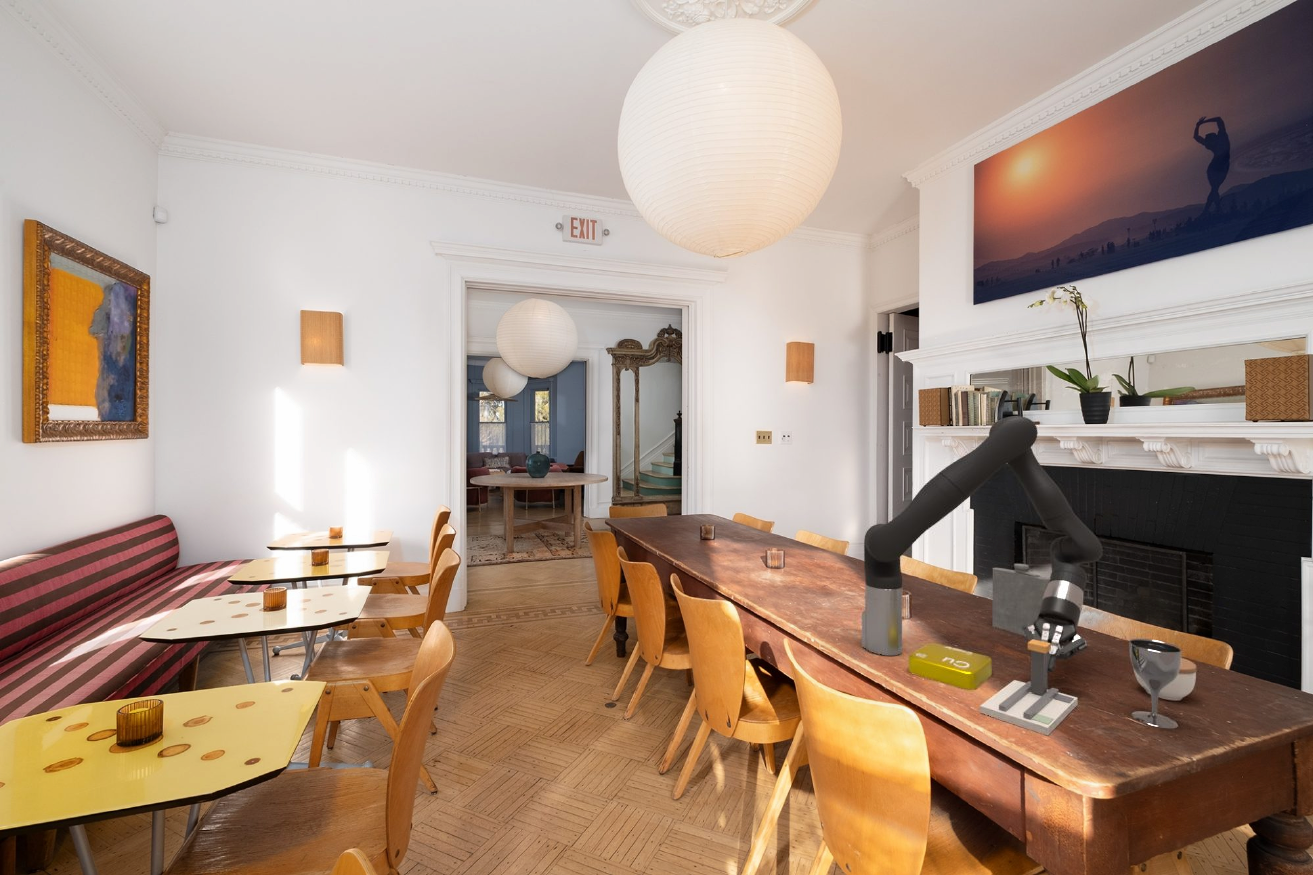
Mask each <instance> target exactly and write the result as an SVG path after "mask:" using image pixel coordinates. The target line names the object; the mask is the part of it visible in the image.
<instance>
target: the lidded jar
mask: <svg viewBox="0 0 1313 875" xmlns="http://www.w3.org/2000/svg"><path fill="white" fill-rule="evenodd" d="M1197 670H1198V669H1197V665H1196V664H1195V662H1192V661H1191V660H1189V659H1187V658H1184V657H1181V665H1180V670H1179V673H1178V675H1177V677H1176V679H1174V680H1173V681H1172V682H1170V683H1169V684H1168V685H1166V686H1165V687H1163V688H1162V689H1161V691H1160V692H1159V696H1158V699H1162V700H1166V701H1167V700H1168V701H1183V700H1182V699H1183V698H1185V697H1186V696H1188V695H1190V693H1191V692H1192V691H1193V690H1194V688H1195V685H1196V679H1197V678H1196V677H1197V674H1196V673H1197V672H1198V671H1197ZM1133 672H1134V675H1135V678H1136V681H1137V682H1138V683H1139V684H1140V686H1141V688H1143V689H1144V690H1145V692H1146V693H1147V694H1149V695H1150V696H1151V692H1150V689H1149V687H1148V686H1147V684H1146V683H1145V682H1144V681H1143V680H1142V678H1141V677H1140V676H1139V675H1138V674H1137V673H1136V671H1135V670H1134V669H1133Z"/></svg>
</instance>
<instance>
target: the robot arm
mask: <svg viewBox="0 0 1313 875" xmlns="http://www.w3.org/2000/svg"><path fill="white" fill-rule="evenodd" d="M1037 438H1038V427H1037V425H1036V423H1035V422H1034V421H1033V420H1032V419H1030V418H1028V417H1025V416H1021V415H1014V416H1013V415H1012V416H1008V417H1004V418H1001V419H999V420H996V421H995V422H994V423H993V424H992V425H991V426H990V428H989V432H988V436H987V438H986V439H984V440H983V441H982V442H981V443H980V444H979V445H977V447H976V448H974V449H973V450H972V451H970V452H969V453H967V454H965V455H963V456H962V457H959V459H957V460H955V461H953V463H950V464H949V465H948V466H946V467H944V469H942V470H941V471H939V472H938V473H936V475H934V476H933V477H932V478H931V479H930V480H929V481H927V482H926V483H925V484H924V485H923V486H922V487H921V489H919V491H918V492H917V494H915V496H914V498H912V500H911V502H910V503H909V504H908V506H907V507H906V508H905V509H904V510H903V511H902V512H900V514H897V516H896V517H894V518H893V519H891V521H888V522H887V523H877V524H874V525H872V526H870V527H869V528H868V530H866V532H865V535H864V538H863V539H864V541H863V542H864V543H863V549H864V550H863V555H864V556H863V559H864V560H863V563H864V564H863V566H864V575H865V576H864V577H865V578H864V579H865V580H864V582H865V584H864V585H865V586H864V588H865V593H864V596H865V598H864V600H865V601H864V602H865V603H864V604H865V605H864V606H865V609H864V611H862V612H861V648H863V647H864V648H863V649H865V648H866V649H865V650H867V651H868V650H869V651H868V652H870V653H872V652H874V653H873V654H876V653H877V654H876V655H880V654H882V655H881V656H891V657H892V656H898V654H899V655H901V654H902V653H903V574H902V570H901V557H902V556H903V555H904V554H905V553H906V552H907V550H908V549H909V548H910V547H911V546H912V545H914V543H915V542H916V541H917V540H918V539H919V538H920V537H921V536H922V535H923V534H925V532H926V531H928V530H930V529H931V528H932V527H933V526H935V525H936V524H938V523H939V522H940V521H942V520H943V519H944V518H945V517H947V516H948V515H949V514H950V513H952V512H953V511H954V510H956V509H957V508H958V507H959V506H960V505H962V504H963V503H964V502H965V501H966V500H967V499H968V498H970V497H971V496H972V495H973V494H974V493H975V492H977V491H978V490H979V489H980V488H981V486H983V485H984V484H985V483H986V482H987V481H988V480H989V479H990V478H991V477H992V476H993V475H994V474H995V473H996V472H997V471H999V470H1000V469H1001V468H1002V467H1004V466H1005V465H1006V464H1007V465H1008V466H1009V468H1010V469H1011V471H1012V472H1013V473H1014V475H1015V476H1016V478H1017V479H1018V481H1019V482H1020V484H1021V486H1022V488H1023V489H1024V491H1025V493H1026V495H1027V496H1028V498H1029V500H1030V502H1031V504H1032V505H1033V507H1034V509H1035V511H1036V513H1037V515H1038V516H1039V518H1040V520H1041V521H1042V523H1043V525H1044V527H1045V528H1046V529H1047V530H1050V531H1058V532H1062V533H1064V534H1066V535H1065V536H1060V537H1057V538H1056V539H1054V540H1053V541H1052V542H1051V544H1050V547H1049V554H1050V565H1051V573H1050V577H1049V584H1048V586H1047V588H1046V590H1045V593H1044V597H1043V600H1042V604H1041V608H1040V611H1039V615H1038V619H1037V620H1036V621H1035V622H1034V624H1033V625H1032V626H1029V627H1027V626H1025V625H1023V626H1022V630H1023V632H1024V635H1025V636H1024V637H1025V638H1026V640H1027V642H1030V641H1031V640H1033V639H1034V637H1033V636H1034V635H1035V631H1037V633H1038V635H1039V637H1040V638H1041V641H1043V642H1047V643H1051V650H1050V651H1049V652H1047V675H1049V674H1051V673H1053V672H1054V671H1055V667H1056V663H1057V661H1058V660H1059V659H1062V660H1063V661H1066V660H1069V659H1070V658H1072V657H1073V656H1076V655H1077V654H1079V653H1081V652H1083V651H1084V650H1086V649H1088V645H1087V641H1086V639H1085V637H1081V636H1080V635H1079V633H1078V625H1079V621H1080V619H1081V613H1082V611H1083V605H1084V593H1085V589H1086V586H1087V581H1088V576H1087V573H1086V572H1087V571H1085V569H1083V568H1082V567H1081V566H1078V565H1080V564H1081V565H1082V564H1090V563H1095V562H1098V561H1099V560H1100V559H1101V558H1102V557H1103V552H1104V550H1103V546H1102V544H1101V542H1100V540H1099V538H1098V537H1097V536H1096V535H1095V534H1094V532H1093V531H1092V530H1090V528H1089V527H1087V525H1086V524H1085V523H1083V521H1082V520H1081V519H1080V518H1079V517H1078V516H1077V515H1076V513H1075V512H1074V510H1073V509H1072V507H1071V505H1070V503H1069V502H1068V500H1067V498H1066V496H1065V495H1064V493H1063V492H1062V491H1061V489H1060V488H1059V486H1058V485H1057V484H1056V483H1055V481H1054V480H1053V479H1052V478H1051V476H1049V474H1048V472H1046V470H1045V469H1044V468H1043V466H1041V464H1040V462H1039V461H1038V459H1037V458H1036V455H1035V454H1034V452H1033V449H1032V446H1033V445H1034V444H1035V443H1036V441H1037ZM1034 640H1035V639H1034Z"/></svg>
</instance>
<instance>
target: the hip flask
mask: <svg viewBox="0 0 1313 875" xmlns="http://www.w3.org/2000/svg"><path fill="white" fill-rule="evenodd" d="M1013 567H1014V570H1013V569H1007V568H1002V567H992V614H991V615H992V623H991V624H992V627H993V628H995V627H997V628H996V629H998V628H999V630H1003V629H1004V630H1003V631H1007V632H1011V633H1014V634H1017V635H1020V636H1023V635H1024V632H1023V630H1022V626H1023V625H1025V626H1027V627H1029V626H1032V625H1033V624H1034V622H1035V621H1036V620H1037V619H1038V615H1039V611H1040V608H1041V604H1042V600H1043V597H1044V593H1045V590H1046V588H1047V586H1048V584H1049V580H1050V577H1049V578H1048V577H1046V576H1041V575H1040V574H1036V573H1034V572H1031V571H1030V572H1029V570H1028V569H1030V568H1029V567H1030V566H1029V564H1025V563H1024V564H1023V563H1014V565H1013ZM1024 637H1026V636H1025V635H1024ZM1033 637H1034V639H1035V640H1038V641H1041V638H1040V637H1039V635H1038V633H1037V631H1035V635H1034V636H1033Z"/></svg>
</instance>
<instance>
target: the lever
mask: <svg viewBox="0 0 1313 875" xmlns="http://www.w3.org/2000/svg"><path fill="white" fill-rule="evenodd" d="M1027 650H1030V682H1031V692H1033V693H1036V694H1040V695H1044V694H1045V693H1046V692H1047V689H1048V673H1047V652H1049V651H1050V650H1051V643H1047V642H1043V641H1038V640H1034V639H1033V640H1031V641H1030V642H1029V641H1027Z"/></svg>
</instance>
